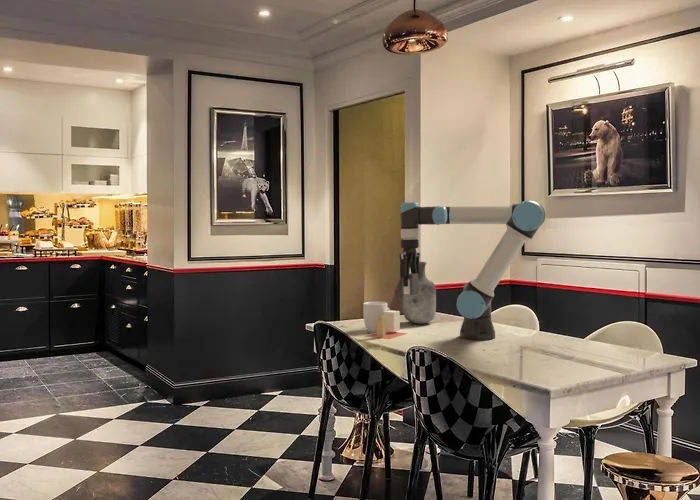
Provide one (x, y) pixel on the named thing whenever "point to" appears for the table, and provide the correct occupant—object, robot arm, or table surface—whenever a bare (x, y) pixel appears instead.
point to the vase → (421, 301)
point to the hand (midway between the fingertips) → (410, 293)
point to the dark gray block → (412, 284)
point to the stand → (391, 325)
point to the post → (381, 327)
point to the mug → (373, 314)
